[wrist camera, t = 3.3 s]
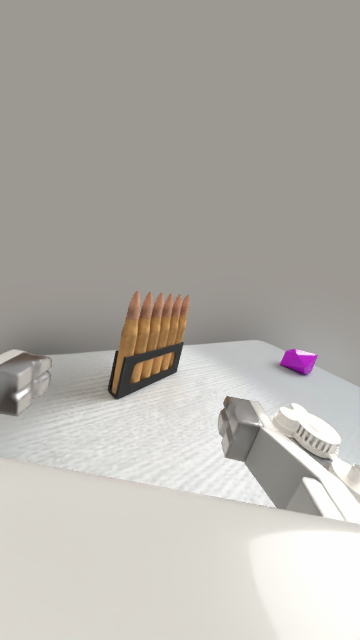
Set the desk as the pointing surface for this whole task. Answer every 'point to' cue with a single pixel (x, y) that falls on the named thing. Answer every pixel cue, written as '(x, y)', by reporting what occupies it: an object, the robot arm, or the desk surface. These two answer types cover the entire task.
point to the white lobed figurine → (317, 442)
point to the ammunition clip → (148, 343)
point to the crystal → (299, 360)
